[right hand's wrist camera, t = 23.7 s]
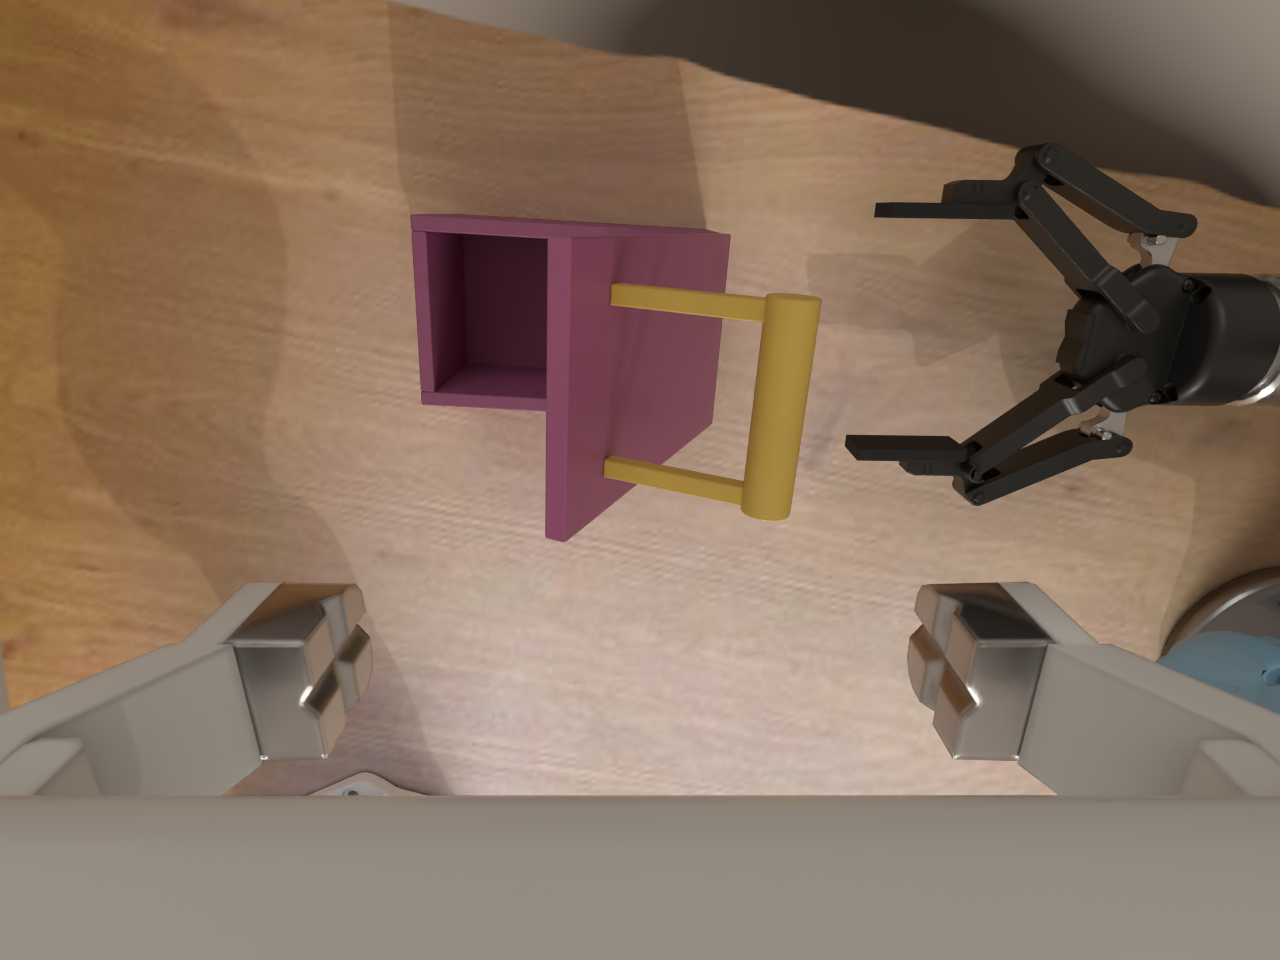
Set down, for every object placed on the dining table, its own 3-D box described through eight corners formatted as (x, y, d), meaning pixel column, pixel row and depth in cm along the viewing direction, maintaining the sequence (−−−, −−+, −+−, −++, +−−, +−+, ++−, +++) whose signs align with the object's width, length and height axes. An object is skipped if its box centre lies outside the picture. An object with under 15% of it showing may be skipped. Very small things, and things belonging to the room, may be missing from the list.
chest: (459, 371, 47) (421, 405, 39) (453, 213, 43) (409, 214, 35) (693, 384, 47) (704, 420, 39) (707, 229, 44) (722, 233, 35)
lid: (544, 538, 24) (762, 593, 21) (546, 234, 20) (809, 255, 18) (698, 421, 39) (839, 445, 36) (715, 233, 35) (873, 244, 32)
